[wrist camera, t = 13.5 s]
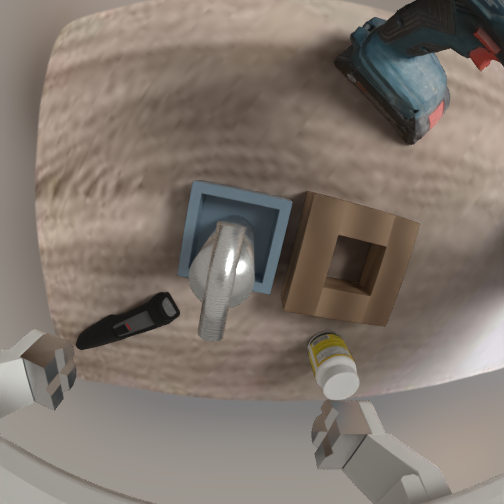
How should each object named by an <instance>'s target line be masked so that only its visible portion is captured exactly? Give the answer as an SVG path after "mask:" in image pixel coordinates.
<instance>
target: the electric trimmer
mask: <svg viewBox="0 0 504 504" xmlns="http://www.w3.org/2000/svg"><path fill="white" fill-rule="evenodd" d="M179 315H180V311H179V309H178V308H177V306H176V304H175V302H174V301H173V299H172V297H171V295H170V294H169V293H168V292H166V293H163V292H161V293H159V294H157V295H155V296H154V297H153V298H152V299H151V300H150V301H149V302H147V303H145V304H143V305H141V306H139V307H137V308H135V309H133V310H131V311H129V312H126V313H123V314H121V315H118V316H115V315H109V316H107V317H106V318H104V319H102V320H101V321H99V322H97V323H96V324H94V325H93V326H91V327H89V328H88V329H86V330H85V331H83V332H82V333H81V334H80V335H79V337H78V339H77V342H76V346H77V348H78V349H80V350H84V349H89V348H94V347H98V346H102V345H105V344H109V343H112V342H116V341H119V340H122V339H125V338H127V337H130V336H133V335H136V334H140V333H143V332H146V331H149V330H152V329H155V328H158V327H161V326H164V325H167V324H169V323H171V322H172V321H173V320H174V319H176V318H177V317H178V316H179Z"/></svg>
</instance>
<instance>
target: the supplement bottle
mask: <svg viewBox="0 0 504 504" xmlns="http://www.w3.org/2000/svg"><path fill="white" fill-rule="evenodd" d="M307 352H308V356H309V359H310V363H311V366H312V369H313V372H314V376H315V380H316V382H317V384H318V385H319V386H320V387H321V388H322V390H323V393H324V395H325V396H326V397H327V398H328V399H330V400H343V399H346V398H348V397H350V396H351V395H353V394H354V393H355V392H356V390H357V389H358V387H359V378H358V375H357V373H356V371H357V369H356V364H355V362H354V360H353V358H352V356H351V354H350V352H349V350H348V348H347V347H346V345H345V343H344V341H343V339H342V337H341V336H340V335H339V334H337V333H336V332H332V331H324V332H321V333H318V334H317V335H315V336H314V337H313V338H312V339H311V340H310V342H309V344H308V348H307Z"/></svg>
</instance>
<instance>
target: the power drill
mask: <svg viewBox="0 0 504 504" xmlns="http://www.w3.org/2000/svg"><path fill="white" fill-rule="evenodd" d="M350 39H351V42H352V45H351V46H350V47H349V48H348V49H347V50H345V51H344V52H343V53H342V54H341V55H340V56H339V57H338V58H337V59H336V60H335V61H334V64H335V65H336V67H337V68H338V69H340V70H341V71H342V72H343V73H344V75H345V76H346V77H347V78H348V79H349V80H351V81H352V82H353V83H354V84H355V85H356V86H357V87H358V88H359V89H360V90H361V92H362V93H363V94H364V95H365V96H366V97H367V98H368V99H369V100H370V101H371V102H372V103H373V104H374V105H375V106H376V108H377V109H378V110H379V111H380V112H381V113H382V114H383V115H384V116H385V117H386V119H387V120H388V121H389V122H390V123H391V124H392V125H393V127H394V128H395V129H396V130H397V132H398V133H399V134H400V135H401V136H402V138H403V139H404V140H405V142H406V143H408V144H410V145H412V144H415V143H416V142H417V141H418V140H419V139H421V138H422V137H423V136H424V135H425V134H426V133H427V132H428V131H429V130H430V129H431V128H432V127H433V126H434V125H435V124H436V123H437V122H438V120H439V119H440V117H441V116H442V115H443V113H444V112H445V111H446V110H447V109H448V107H449V102H450V93H449V89H448V87H447V77H446V74H445V71H444V69H443V67H442V66H441V64H440V62H439V60H438V58H437V56H436V55H435V54H434V53H435V52H439V51H442V50H446V49H450V48H451V49H453V50H454V51H456V52H457V53H459V54H460V55H462V56H464V57H466V58H471V59H472V61H473V62H474V64H475V65H476V67H477V68H478V69H479V70H480V71H482V70H483V69H484V68H485V67H487V66H488V65H489V64H490V61H491V60H496V61H498V62H500V63H501V64H502V65H503V66H504V0H416V1H414V2H412V3H410V4H407V5H405V6H404V7H403V8H401V9H399V10H397V12H396V13H395V14H394V15H393V16H392V17H391V18H389V19H388V20H383V19H380V18H377V17H374V18H372V19H371V20H369V21H367V22H366V23H365V24H364V25H363V27H358V28H357V29H356V31H355V32H353V33H351V36H350Z"/></svg>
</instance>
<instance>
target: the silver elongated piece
mask: <svg viewBox="0 0 504 504" xmlns="http://www.w3.org/2000/svg"><path fill="white" fill-rule="evenodd" d="M189 283H190V286H191V289H192V291H193V293H194V294H195V296H196V297H197V298H198V299H199V300H200V301H201V302H203V303H202V309H201V315H200V322H199V328H198V335H199V336H200V337H201V338H202V339H204V340H207V341H220V340H221V339H222V338H223V335H224V330H225V325H226V320H227V315H228V310H229V308H232V307H235V306H238V305H240V304H241V303H243V302H244V301H245V300H246V299H247V298H248V297H249V295H250V294H251V292H252V290H253V286H254V230H253V227H252V225H251V223H250V222H249V221H248V220H247V219H246V218H244V217H242V216H240V215H230V216H227V217H225V218H223V219H222V220H221V221H218V222H217V226H216V228H215V229H214V231H213V232H212V234H211V235H210V237H209V238H208V240H207V241H206V243H205V244H204V246H203V247H202V249H201V250H200V252H199V253H198V255H197V256H196V258H195V259H194V261H193V262H192V264H191V267H190V270H189Z"/></svg>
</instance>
